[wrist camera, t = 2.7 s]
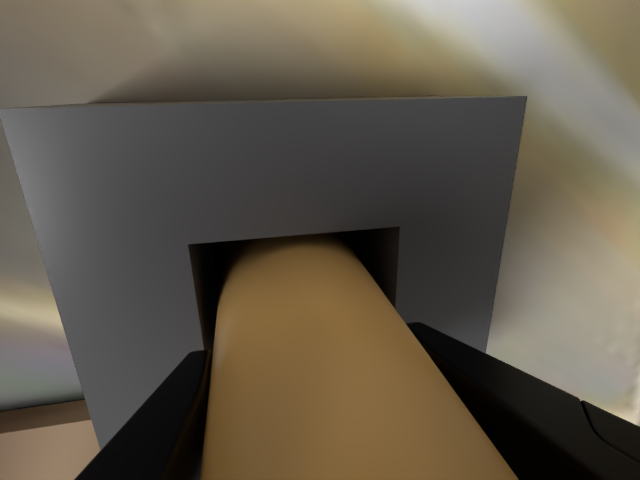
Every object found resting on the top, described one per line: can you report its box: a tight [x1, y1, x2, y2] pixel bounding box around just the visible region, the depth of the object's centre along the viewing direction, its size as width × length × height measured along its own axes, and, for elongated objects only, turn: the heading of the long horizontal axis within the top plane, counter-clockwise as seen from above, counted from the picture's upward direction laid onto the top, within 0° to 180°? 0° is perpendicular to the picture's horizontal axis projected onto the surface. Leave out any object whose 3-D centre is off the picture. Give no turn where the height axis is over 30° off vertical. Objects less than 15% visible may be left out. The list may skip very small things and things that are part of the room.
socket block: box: [0, 96, 527, 450], centre depth 11 cm, size 10×10×4 cm
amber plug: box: [200, 232, 519, 480], centre depth 8 cm, size 4×4×10 cm
